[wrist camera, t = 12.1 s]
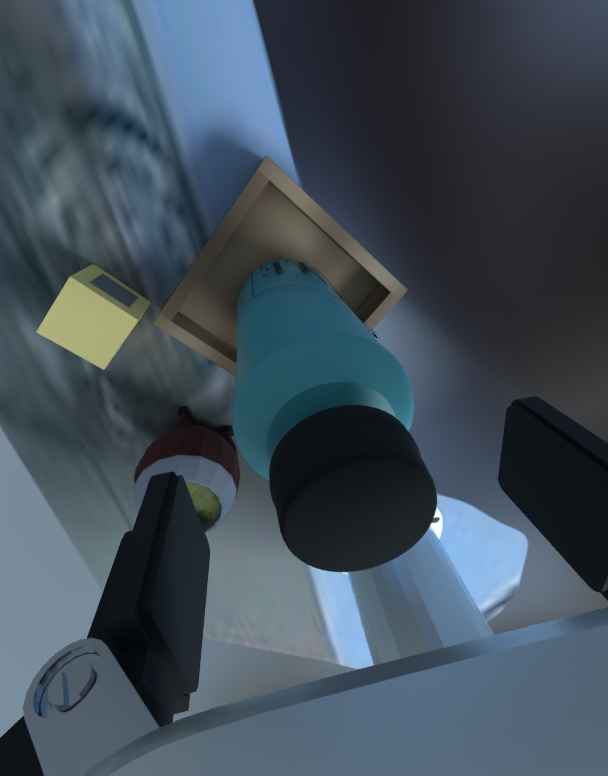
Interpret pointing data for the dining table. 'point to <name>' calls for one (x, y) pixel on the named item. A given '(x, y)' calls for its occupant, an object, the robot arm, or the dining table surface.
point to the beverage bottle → (327, 423)
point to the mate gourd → (195, 467)
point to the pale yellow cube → (93, 315)
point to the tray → (263, 243)
